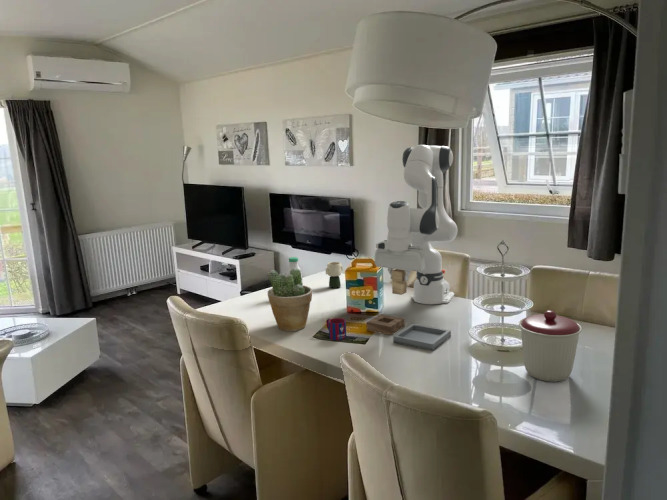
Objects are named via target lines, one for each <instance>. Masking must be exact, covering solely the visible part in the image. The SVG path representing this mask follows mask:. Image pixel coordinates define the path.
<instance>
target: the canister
mask: <svg viewBox="0 0 667 500" xmlns="http://www.w3.org/2000/svg"><path fill="white" fill-rule="evenodd" d="M518 327H519V328H520V330H521V331H520V333H521V344H522V345H521V346H522V355H523V357H522V358H523V364H524V365H523V366H524V368H525V371H526V372H527V374H528V375H529V376H531V377H532V378H534V379H536V380H540V381H544V382H551V383H552V382H562V381H565V380H567V379H568V378H569V377H570V376H571V374H572V371H573V368H574V363H575V359H576V354H577V349H578V343H579V339H580V338H579V337H580V334H581V332H582V331H583V328H582V326H581V324H579V323H578V322H576V321H575V320H573V319H571V318H569V317H567V316H562V315H557V313H556V312H555V311H554V310H552V309H551V310H546V311H544V313H540V314H532V315H529V316H525V317H524V318H522V319H520V320H519V321H518Z"/></svg>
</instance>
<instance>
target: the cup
mask: <svg viewBox="0 0 667 500" xmlns="http://www.w3.org/2000/svg"><path fill="white" fill-rule="evenodd" d="M325 325H326V328H327V330H328V339H330V340H332V341H342V340H345V339H346V338H347V320H346V319H345V318H343V317H342V318H341V317H333V318H327V319H326V323H325Z"/></svg>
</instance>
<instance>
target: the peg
mask: <svg viewBox="0 0 667 500" xmlns="http://www.w3.org/2000/svg"><path fill="white" fill-rule="evenodd" d="M406 274H407V273H406V272H405V270H402V269H394V270H393V271H392V279H391V283H392V284H391V289H392V291H391V292H392V293H391V294H393V295H399V296H400V295H401V296H402V295H404V294H406V293H407V291H408V290H407V285H408V284H407V281H403V276H405V275H406Z"/></svg>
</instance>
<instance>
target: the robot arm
mask: <svg viewBox="0 0 667 500" xmlns="http://www.w3.org/2000/svg"><path fill="white" fill-rule="evenodd" d="M453 154H454V153H453V151H452V149H451V147H450V146H445V145H426V144H417V145H415V146H411V147H407V148H406V149H405V150H404V151H403V153H402V159H401V160H402V165H403V168H404V170H403V179H404V181H405V183H406V184H407V185H408V186H409V187H410V188H412V189H413V190H417V191H418V193H417V194H418V195H417V196H418V199H417V203H418V205H419V207H420V208H415V207H414V208H411V207H410V203H409V202H407V201H405V200H404V201H403V200H398V201H397V200H396V201H393V202H391V203H389V205H388V209H387V217H386V221H387V222H386V225H387V231H388V232H387V236H386V237H387V239H386V240H383V241H382V240H381V241H379V242H377V243H375V248H376V250H375V251H374V265H375V266H376V267H378V268H385V269H387V271H388V274H389V275H390V280H392V271H393V270H395V269H402V270H405V272H406V275H405V276H403V281H406V282H409V277H410V275H411V273H412V272H415V273H416V274H415V275H416V276H415V277H416V280H415V281H414V282H413V294H411V296H410V298H411V299H413V300H414V302H415V303H419V304H421V305H438V304H449V303H450V301H451V300H452V299H453V297H454V296H455V293H454V292H453V291H450V283H449V282H448V281H447V280H445V278H444V275H445V274H446V270H445V269H442V263H443V262H442V260H443V259H442V255H441V253H440V252H439V251H438V250H437V249H435V248H434V247H433V246H432V244H431V243H451V242H453V241H454V240H455V239H456V237H457V235H458V232H459V231H458V226H457V224H456V222H455V221H454V220H453V218H451V217H450V216H449V215H448V213H447V211H446V209H445V206H444V174H445V173H446V171H448V170H449V169H450V168H451V167H452V165H453V162H454V155H453Z"/></svg>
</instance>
